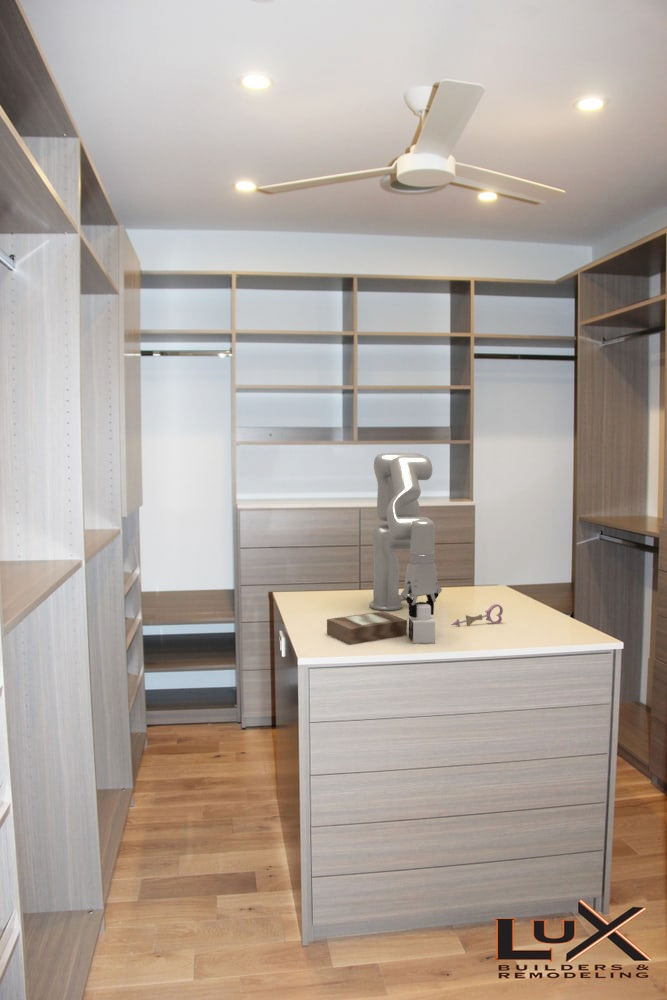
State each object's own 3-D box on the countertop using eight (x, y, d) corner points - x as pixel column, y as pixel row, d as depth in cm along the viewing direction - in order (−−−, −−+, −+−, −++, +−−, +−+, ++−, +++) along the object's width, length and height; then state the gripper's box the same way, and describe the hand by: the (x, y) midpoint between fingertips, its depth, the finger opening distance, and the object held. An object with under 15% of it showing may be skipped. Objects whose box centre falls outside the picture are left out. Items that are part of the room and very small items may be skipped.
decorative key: (451, 634, 254) (502, 621, 260) (453, 635, 253) (504, 622, 259) (448, 615, 253) (500, 602, 259) (450, 616, 252) (502, 603, 258)
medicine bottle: (408, 637, 239) (408, 601, 238) (430, 636, 239) (430, 600, 238) (412, 644, 232) (412, 606, 231) (435, 643, 232) (435, 605, 231)
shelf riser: (382, 625, 254) (382, 610, 253) (406, 635, 242) (407, 619, 241) (326, 634, 242) (326, 618, 242) (349, 644, 230) (350, 628, 230)
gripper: (436, 555, 241) (434, 609, 243) (392, 559, 232) (392, 616, 234) (451, 558, 235) (449, 614, 236) (407, 563, 226) (406, 621, 227)
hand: (421, 614), depth 235 cm, fingers closed on medicine bottle, 6 cm apart
